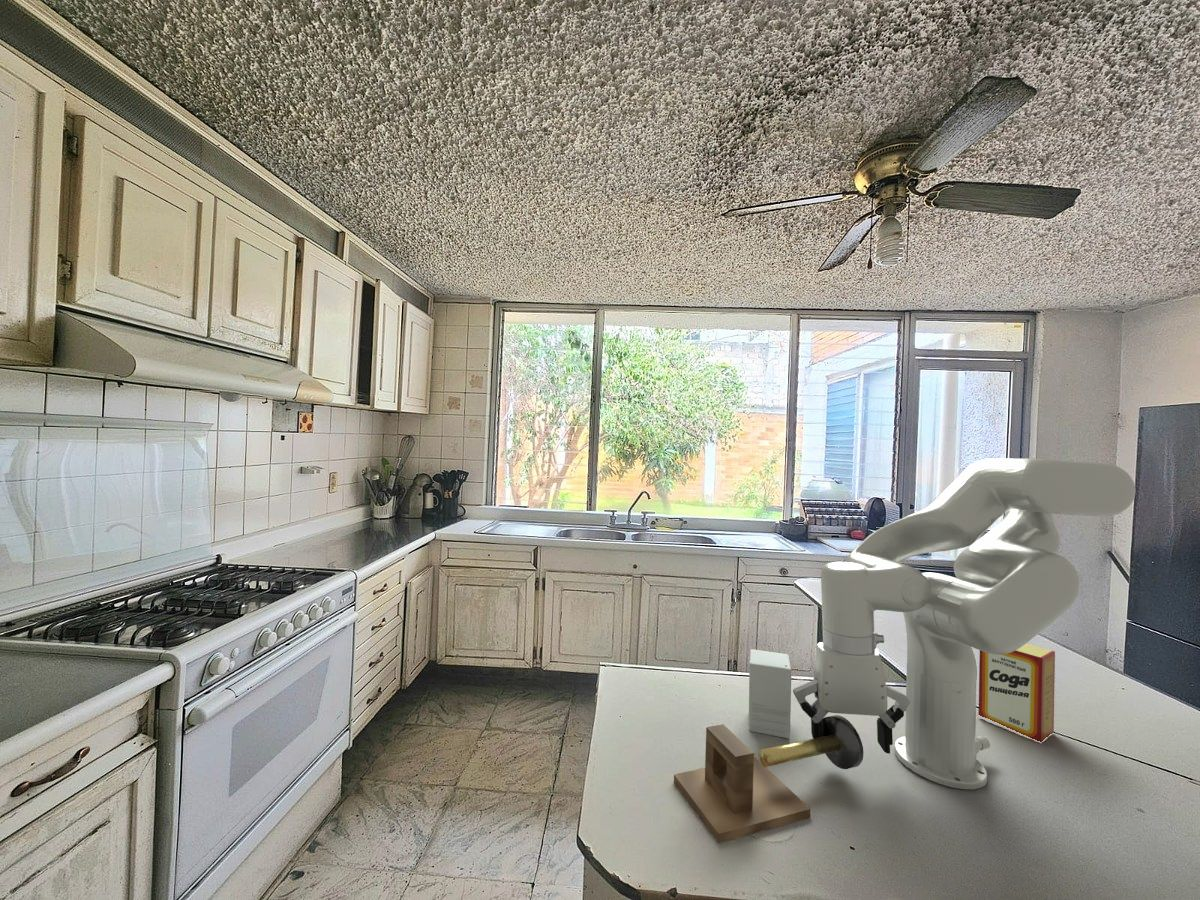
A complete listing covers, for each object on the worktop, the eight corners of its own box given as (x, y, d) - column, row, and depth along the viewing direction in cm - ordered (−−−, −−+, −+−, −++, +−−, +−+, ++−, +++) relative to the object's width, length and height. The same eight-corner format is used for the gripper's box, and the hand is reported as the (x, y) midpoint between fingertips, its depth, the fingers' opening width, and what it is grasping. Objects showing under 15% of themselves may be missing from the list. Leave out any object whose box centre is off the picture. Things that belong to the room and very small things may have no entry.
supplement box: (788, 719, 91) (789, 653, 92) (790, 740, 84) (792, 669, 85) (748, 711, 94) (750, 647, 94) (747, 731, 87) (749, 662, 87)
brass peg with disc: (830, 748, 80) (831, 705, 80) (867, 776, 73) (868, 729, 73) (747, 767, 74) (748, 721, 74) (779, 799, 67) (780, 748, 67)
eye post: (755, 764, 77) (756, 708, 78) (810, 817, 66) (811, 752, 66) (673, 782, 72) (675, 723, 73) (718, 843, 61) (720, 773, 61)
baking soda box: (1053, 734, 89) (1055, 649, 90) (1040, 744, 86) (1042, 656, 86) (992, 710, 97) (993, 632, 98) (978, 718, 94) (979, 638, 94)
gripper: (896, 633, 79) (899, 736, 79) (787, 629, 82) (790, 728, 82) (917, 652, 72) (921, 765, 71) (797, 647, 75) (800, 755, 74)
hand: (851, 745), depth 77 cm, fingers open, 9 cm apart
